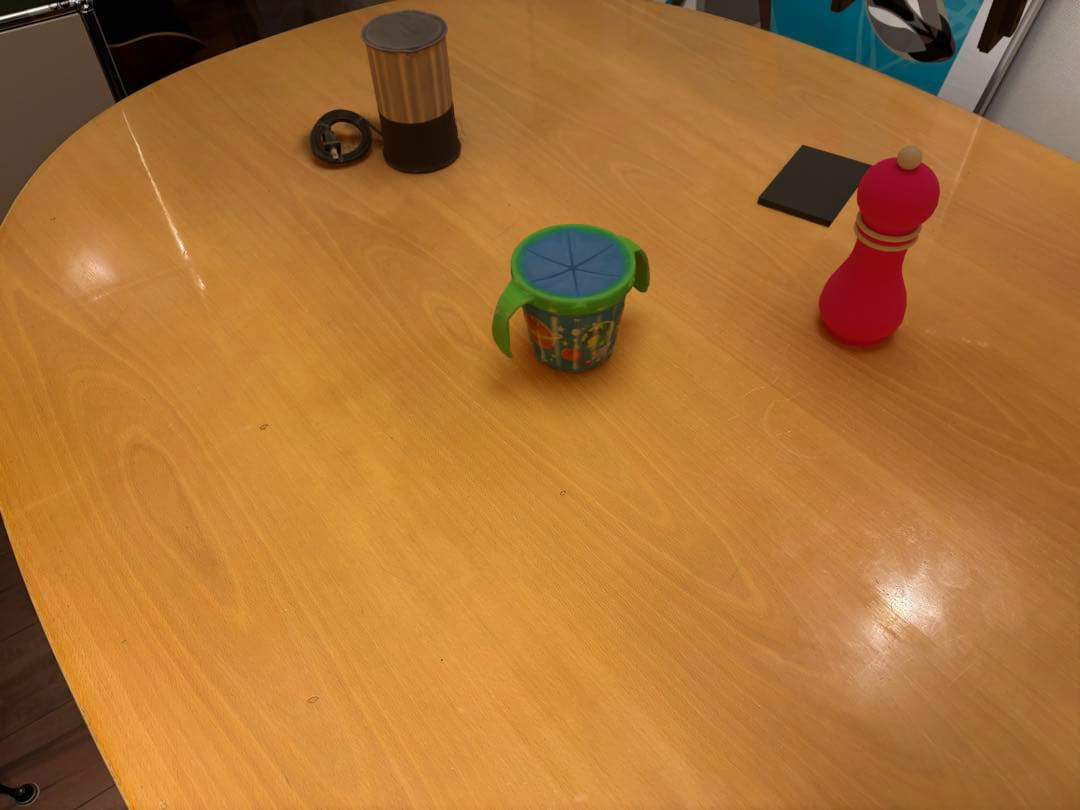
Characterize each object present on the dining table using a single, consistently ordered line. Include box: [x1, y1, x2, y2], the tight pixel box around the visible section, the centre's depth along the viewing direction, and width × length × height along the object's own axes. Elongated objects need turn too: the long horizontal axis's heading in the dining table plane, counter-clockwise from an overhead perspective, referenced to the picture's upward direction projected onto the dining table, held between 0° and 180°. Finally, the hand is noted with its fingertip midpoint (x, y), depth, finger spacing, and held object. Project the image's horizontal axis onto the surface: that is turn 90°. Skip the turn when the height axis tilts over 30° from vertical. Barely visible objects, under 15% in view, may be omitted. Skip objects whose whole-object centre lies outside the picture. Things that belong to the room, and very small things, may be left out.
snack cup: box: [491, 223, 651, 375], centre depth 76 cm, size 16×10×10 cm
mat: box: [757, 144, 874, 228], centre depth 93 cm, size 20×12×1 cm, turn 56°
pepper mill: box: [818, 144, 941, 348], centre depth 72 cm, size 7×7×20 cm
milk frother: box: [309, 8, 462, 173], centre depth 97 cm, size 14×16×15 cm
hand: (914, 23), depth 56 cm, fingers open, 9 cm apart
